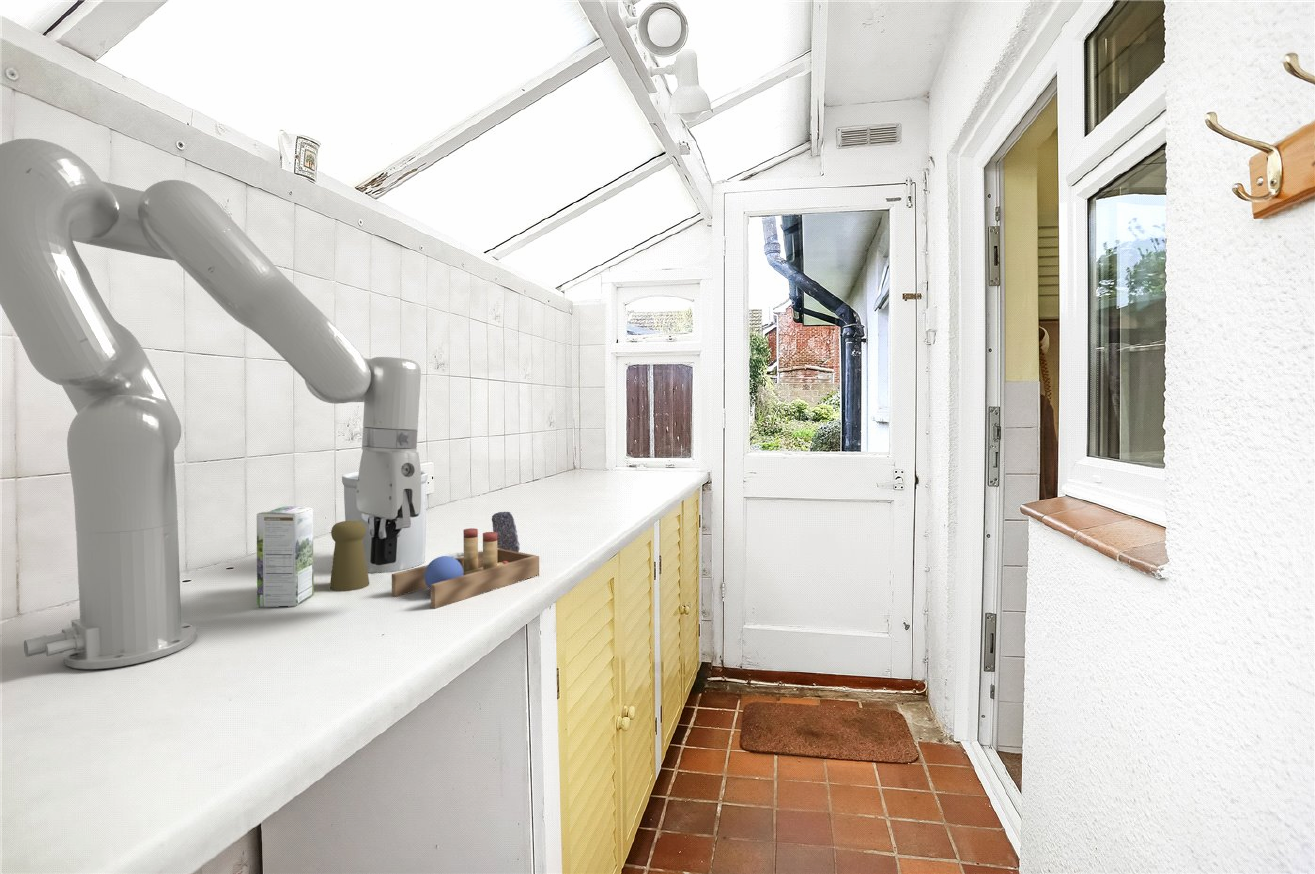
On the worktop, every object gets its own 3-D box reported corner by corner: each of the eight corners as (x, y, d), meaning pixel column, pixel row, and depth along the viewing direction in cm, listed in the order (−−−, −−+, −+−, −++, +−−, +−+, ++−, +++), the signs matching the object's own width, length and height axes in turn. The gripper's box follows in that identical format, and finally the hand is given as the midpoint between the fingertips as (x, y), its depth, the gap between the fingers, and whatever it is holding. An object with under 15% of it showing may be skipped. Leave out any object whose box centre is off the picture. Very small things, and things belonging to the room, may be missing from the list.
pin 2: (489, 587, 104) (489, 535, 103) (480, 584, 105) (479, 533, 105) (500, 583, 106) (500, 533, 105) (491, 581, 107) (490, 531, 107)
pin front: (471, 573, 103) (511, 562, 111) (462, 570, 105) (501, 559, 112) (471, 587, 104) (510, 575, 111) (462, 584, 105) (501, 572, 112)
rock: (522, 564, 119) (522, 513, 118) (493, 567, 117) (493, 514, 116) (514, 550, 130) (514, 503, 129) (488, 552, 128) (487, 504, 127)
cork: (353, 592, 100) (351, 525, 100) (321, 590, 101) (319, 524, 101) (377, 582, 106) (376, 519, 106) (346, 579, 107) (345, 517, 107)
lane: (435, 608, 93) (434, 585, 93) (391, 595, 99) (391, 574, 99) (539, 575, 111) (539, 556, 111) (497, 566, 117) (497, 547, 117)
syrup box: (277, 596, 98) (274, 506, 97) (315, 595, 98) (313, 505, 98) (256, 608, 92) (253, 512, 92) (297, 607, 93) (295, 512, 92)
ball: (476, 565, 102) (462, 600, 100) (453, 558, 105) (439, 592, 103) (449, 555, 97) (434, 593, 95) (425, 548, 100) (410, 584, 99)
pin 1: (470, 582, 107) (469, 531, 106) (460, 579, 108) (460, 530, 107) (481, 578, 109) (480, 529, 108) (472, 576, 110) (471, 527, 109)
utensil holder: (424, 571, 113) (423, 476, 112) (335, 577, 109) (333, 478, 108) (431, 552, 127) (430, 468, 126) (353, 556, 123) (351, 469, 122)
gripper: (443, 444, 91) (436, 568, 91) (383, 438, 99) (377, 551, 99) (397, 444, 84) (389, 576, 85) (338, 437, 93) (331, 558, 93)
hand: (383, 562), depth 92 cm, fingers closed
